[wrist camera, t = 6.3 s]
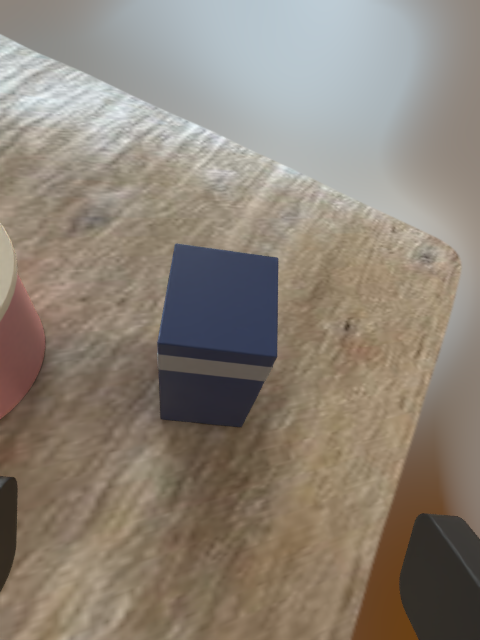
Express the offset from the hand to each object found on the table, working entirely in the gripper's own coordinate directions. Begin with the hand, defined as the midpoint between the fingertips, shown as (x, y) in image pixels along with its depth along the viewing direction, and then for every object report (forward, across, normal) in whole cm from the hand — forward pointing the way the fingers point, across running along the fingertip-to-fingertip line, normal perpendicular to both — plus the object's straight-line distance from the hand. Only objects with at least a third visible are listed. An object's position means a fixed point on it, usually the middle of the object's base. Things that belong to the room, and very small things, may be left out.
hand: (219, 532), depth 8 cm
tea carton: (+18, 0, +4) cm, 19 cm away
